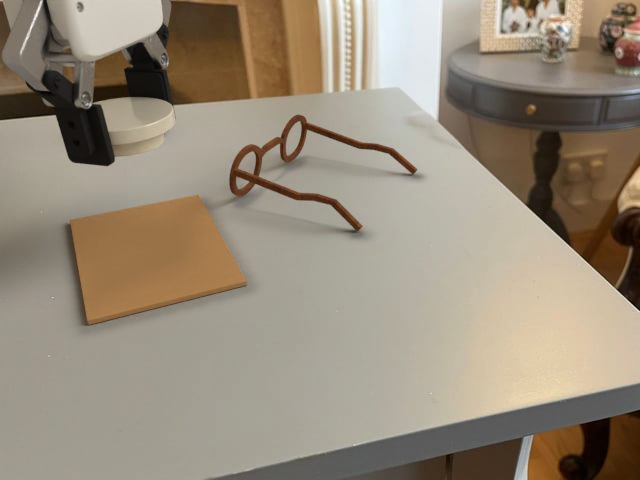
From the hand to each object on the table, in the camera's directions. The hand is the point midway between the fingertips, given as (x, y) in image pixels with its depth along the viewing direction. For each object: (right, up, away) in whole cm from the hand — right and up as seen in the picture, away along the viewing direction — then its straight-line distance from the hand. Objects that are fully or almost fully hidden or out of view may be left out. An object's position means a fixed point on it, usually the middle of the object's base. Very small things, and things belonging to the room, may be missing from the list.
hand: (126, 139), depth 47 cm
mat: (0, -8, +5) cm, 9 cm away
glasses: (+13, -2, +15) cm, 20 cm away
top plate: (0, 0, 0) cm, 0 cm away
